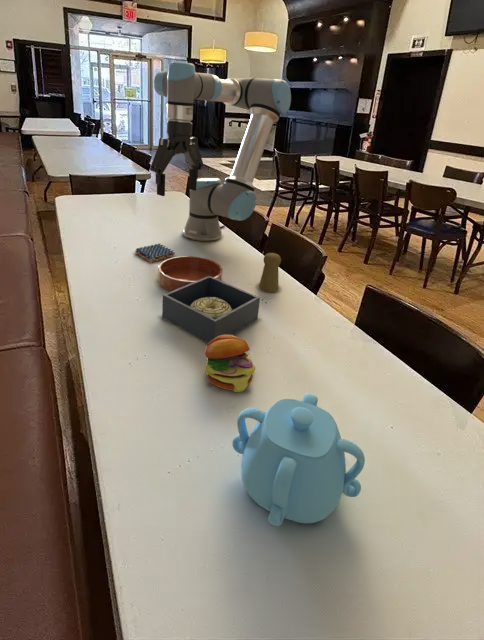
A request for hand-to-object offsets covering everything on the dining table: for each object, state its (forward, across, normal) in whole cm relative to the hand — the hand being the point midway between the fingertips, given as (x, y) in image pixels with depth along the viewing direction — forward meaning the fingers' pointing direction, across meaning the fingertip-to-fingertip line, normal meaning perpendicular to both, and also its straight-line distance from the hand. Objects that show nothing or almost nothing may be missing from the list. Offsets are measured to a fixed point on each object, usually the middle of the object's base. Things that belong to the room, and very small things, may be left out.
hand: (177, 192), depth 128 cm
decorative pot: (+25, -45, -72) cm, 88 cm away
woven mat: (+25, +1, +11) cm, 27 cm away
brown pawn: (+25, +10, -31) cm, 41 cm away
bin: (+25, -17, -31) cm, 43 cm away
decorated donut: (+24, -17, -31) cm, 43 cm away
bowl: (+25, -5, -12) cm, 28 cm away
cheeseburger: (+25, -32, -49) cm, 64 cm away
